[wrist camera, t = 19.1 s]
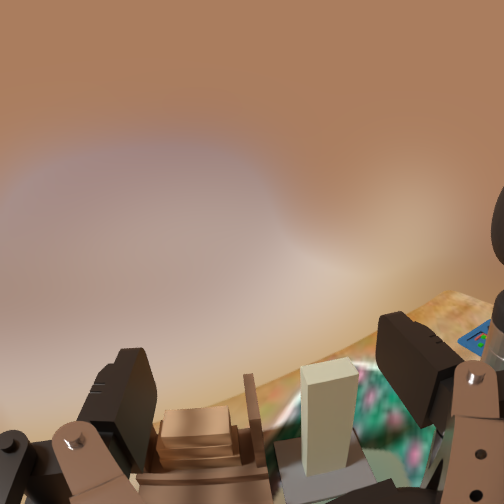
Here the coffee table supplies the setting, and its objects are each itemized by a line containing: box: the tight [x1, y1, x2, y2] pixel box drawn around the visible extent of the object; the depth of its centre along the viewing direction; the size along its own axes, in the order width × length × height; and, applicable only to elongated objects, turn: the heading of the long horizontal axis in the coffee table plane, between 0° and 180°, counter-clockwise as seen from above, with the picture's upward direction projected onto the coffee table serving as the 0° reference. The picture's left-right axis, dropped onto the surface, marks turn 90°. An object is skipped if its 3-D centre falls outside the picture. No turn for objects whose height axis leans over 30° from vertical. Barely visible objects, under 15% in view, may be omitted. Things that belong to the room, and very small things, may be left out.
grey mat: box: [274, 429, 377, 504], centre depth 34 cm, size 11×11×1 cm
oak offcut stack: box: [156, 406, 242, 470], centre depth 35 cm, size 10×6×7 cm, turn 96°
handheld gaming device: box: [458, 319, 491, 356], centre depth 52 cm, size 8×1×15 cm
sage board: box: [300, 357, 359, 477], centre depth 31 cm, size 5×3×16 cm, turn 96°
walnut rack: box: [136, 373, 273, 504], centre depth 31 cm, size 16×16×12 cm
